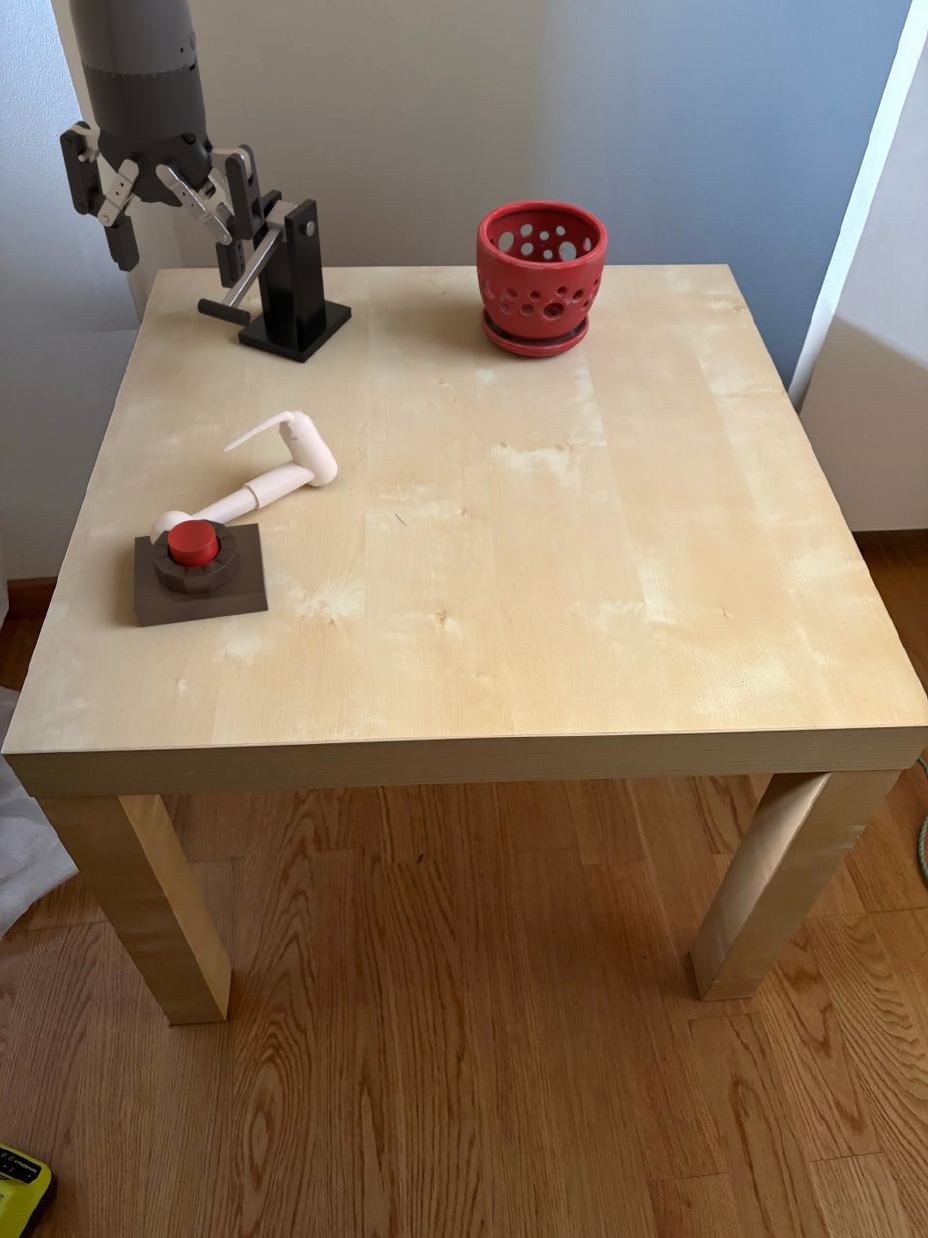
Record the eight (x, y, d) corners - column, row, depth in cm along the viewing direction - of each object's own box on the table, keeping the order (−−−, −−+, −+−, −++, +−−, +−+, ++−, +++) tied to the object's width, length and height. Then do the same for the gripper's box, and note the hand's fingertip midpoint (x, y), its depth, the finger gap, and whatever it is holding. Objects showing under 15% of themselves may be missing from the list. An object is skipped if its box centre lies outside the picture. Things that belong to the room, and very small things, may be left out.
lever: (246, 333, 91) (238, 315, 88) (202, 319, 92) (193, 302, 90) (316, 226, 95) (310, 207, 93) (273, 215, 97) (266, 196, 94)
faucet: (174, 580, 85) (116, 518, 76) (320, 448, 88) (280, 376, 80) (200, 605, 83) (144, 545, 74) (347, 470, 86) (310, 398, 78)
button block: (139, 627, 75) (127, 592, 72) (140, 556, 80) (129, 520, 77) (268, 610, 77) (262, 575, 74) (261, 541, 82) (255, 506, 79)
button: (172, 570, 75) (167, 554, 73) (171, 538, 77) (167, 522, 76) (219, 564, 75) (215, 548, 74) (217, 532, 77) (213, 516, 76)
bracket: (304, 363, 99) (290, 235, 89) (238, 343, 101) (217, 215, 91) (352, 316, 105) (344, 191, 95) (289, 298, 108) (275, 174, 97)
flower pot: (460, 308, 107) (463, 202, 98) (572, 297, 110) (585, 193, 101) (489, 376, 99) (495, 267, 90) (610, 362, 101) (628, 255, 92)
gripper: (9, 53, 62) (74, 285, 74) (216, 81, 61) (248, 313, 73) (66, 17, 67) (118, 240, 79) (259, 42, 66) (283, 265, 78)
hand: (181, 275), depth 76 cm, fingers open, 8 cm apart
